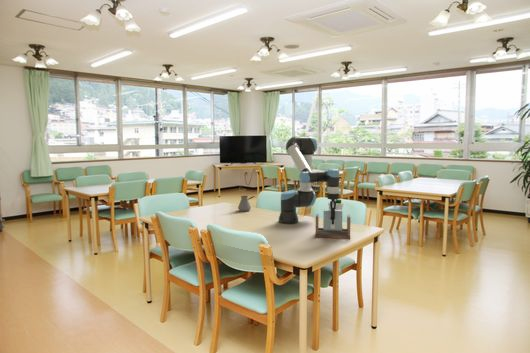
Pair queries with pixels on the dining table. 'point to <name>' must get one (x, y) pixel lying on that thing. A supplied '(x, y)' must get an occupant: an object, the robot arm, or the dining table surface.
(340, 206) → the milk carton
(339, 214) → the door panel
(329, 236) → the track frame
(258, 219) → the dining table surface
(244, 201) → the coffee pot
